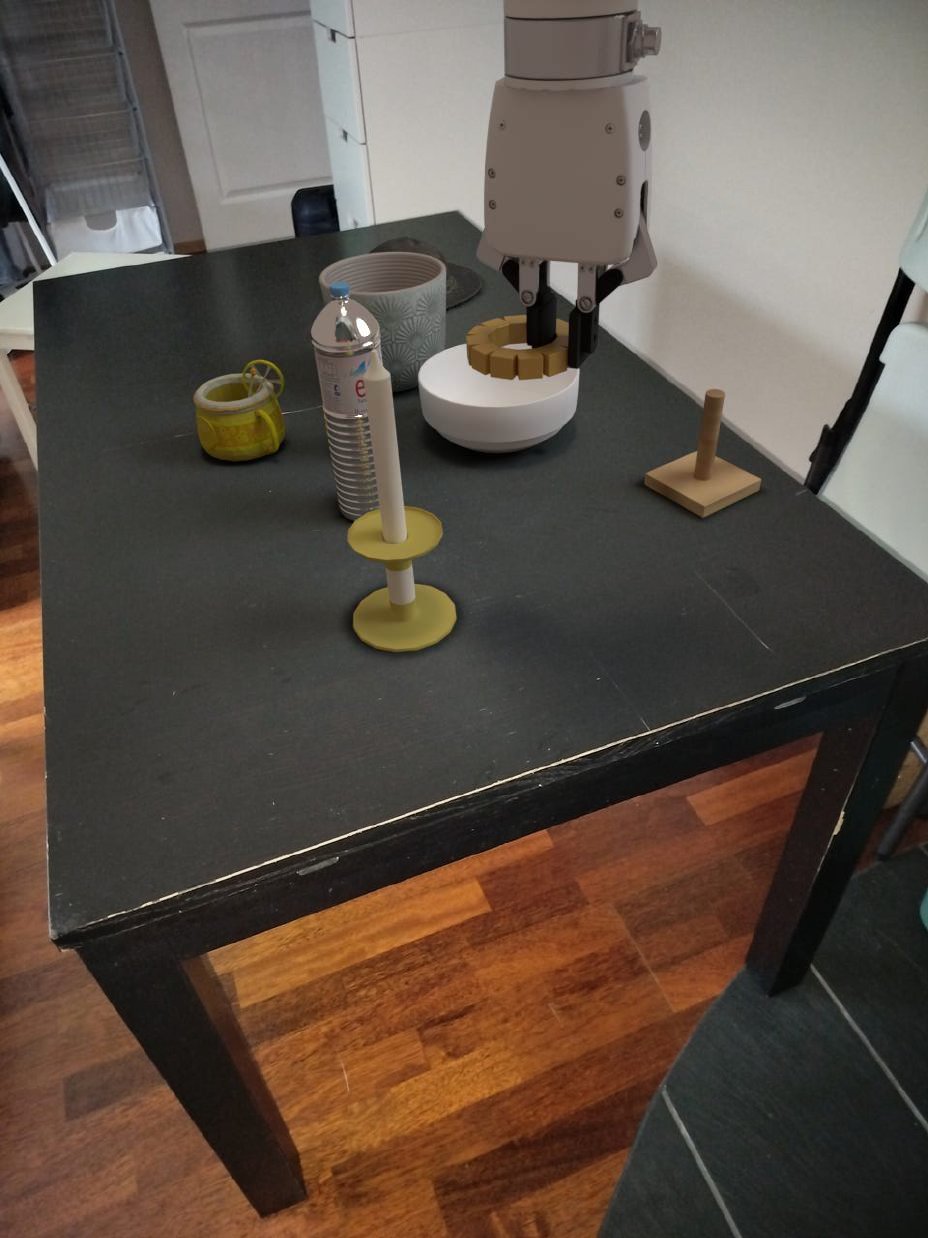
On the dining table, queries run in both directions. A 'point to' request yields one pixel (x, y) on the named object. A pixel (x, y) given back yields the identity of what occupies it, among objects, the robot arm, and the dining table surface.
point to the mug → (240, 415)
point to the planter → (398, 306)
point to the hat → (465, 277)
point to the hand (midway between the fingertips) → (561, 356)
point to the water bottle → (347, 396)
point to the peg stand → (704, 469)
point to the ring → (515, 350)
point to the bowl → (493, 403)
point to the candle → (395, 542)
